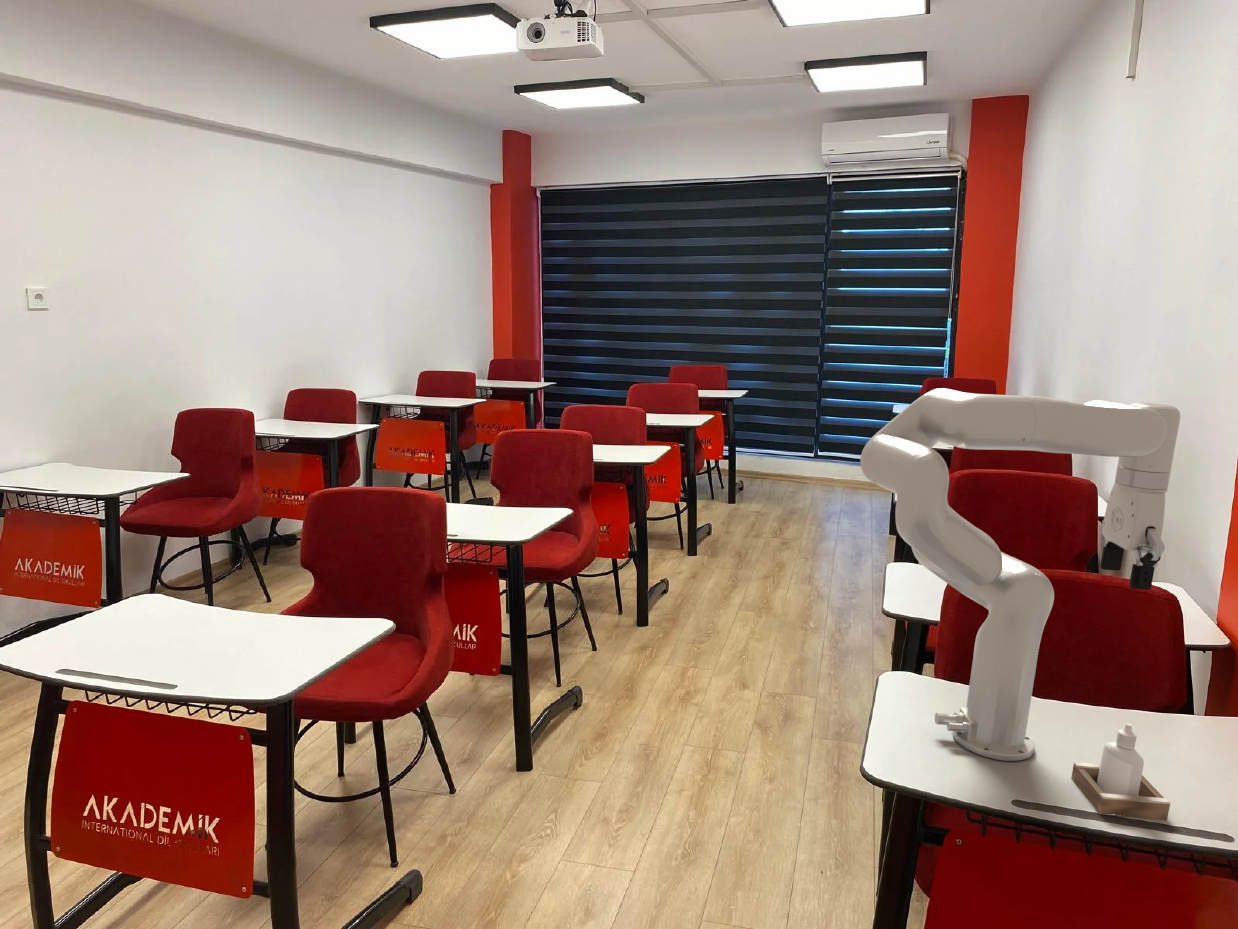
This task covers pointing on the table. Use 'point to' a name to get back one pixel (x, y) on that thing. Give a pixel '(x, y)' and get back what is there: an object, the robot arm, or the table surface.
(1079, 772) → the walnut collar
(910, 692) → the table surface
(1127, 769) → the eye dropper bottle
